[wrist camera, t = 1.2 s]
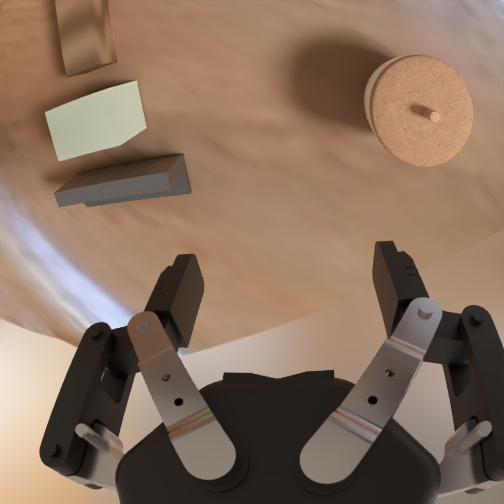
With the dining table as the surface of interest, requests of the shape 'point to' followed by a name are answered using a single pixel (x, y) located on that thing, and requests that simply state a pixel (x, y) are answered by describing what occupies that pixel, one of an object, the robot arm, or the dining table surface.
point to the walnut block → (85, 35)
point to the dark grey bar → (127, 182)
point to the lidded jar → (419, 109)
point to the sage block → (96, 121)
